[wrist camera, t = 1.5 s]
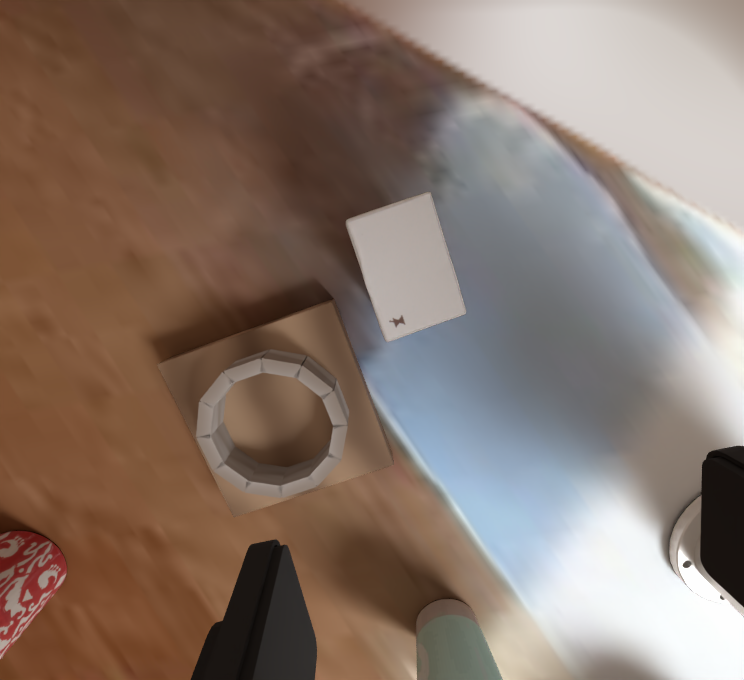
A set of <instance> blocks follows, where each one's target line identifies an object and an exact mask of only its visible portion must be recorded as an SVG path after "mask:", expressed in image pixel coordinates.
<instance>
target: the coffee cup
mask: <svg viewBox="0 0 744 680" xmlns="http://www.w3.org/2000/svg"><path fill="white" fill-rule="evenodd" d="M416 648H417V680H503V679H502V677H501V674H500V672H499V670H498V667H497V665H496V663H495V660H494V658H493V656H492V653H491V651H490V649H489V646H488V644H487V642H486V640H485V637H484V635H483V633H482V630H481V628H480V626H479V623H478V621H477V619H476V617H475V614H474V612H473V611H472V609H471V608H470V607H469V606H468V605H466V604H465V603H463V602H461V601H458V600H454V599H442V600H437V601H435V602H432V603H430V604H429V605H427V606H426V607H425V608H424V609H423V610H422V611H421V612H420V614H419V615H418V618H417V621H416Z"/></svg>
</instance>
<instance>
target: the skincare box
mask: <svg viewBox="0 0 744 680" xmlns="http://www.w3.org/2000/svg"><path fill="white" fill-rule="evenodd" d="M346 227H347V230H348V233H349V236H350V239H351V242H352V245H353V248H354V251H355V253H356V256H357V259H358V262H359V265H360V268H361V271H362V275H363V278H364V282H365V285H366V288H367V290H368V293H369V296H370V299H371V302H372V305H373V308H374V311H375V314H376V317H377V320H378V322H379V325H380V328H381V331H382V334H383V336H384V339H385V341H386V342H390V341H393V340H396V339H398V338H401V337H404V336H406V335H409V334H412V333H415V332H417V331H420V330H423V329H426V328H428V327H431V326H434V325H437V324H440V323H442V322H445V321H448V320H451V319H454V318H456V317H459V316H462V315H464V314H466V309H465V305H464V302H463V298H462V295H461V291H460V287H459V283H458V280H457V277H456V273H455V270H454V267H453V264H452V261H451V258H450V255H449V251H448V248H447V245H446V242H445V239H444V235H443V232H442V229H441V225H440V222H439V219H438V215H437V212H436V209H435V206H434V202H433V199H432V195H431V193H430V192H426V193H423V194H420V195H417V196H414V197H411V198H408V199H405V200H402V201H399V202H396V203H393V204H390V205H387V206H384V207H381V208H378V209H375V210H372V211H369V212H367V213H364V214H361V215H358V216H355V217H352V218H350V219H347V220H346Z"/></svg>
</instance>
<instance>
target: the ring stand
mask: <svg viewBox="0 0 744 680" xmlns="http://www.w3.org/2000/svg"><path fill="white" fill-rule="evenodd" d="M157 366H158V368H159V370H160V372H161V374H162V376H163V378H164V380H165V382H166V384H167V386H168V388H169V390H170V392H171V394H172V396H173V398H174V400H175V402H176V404H177V406H178V408H179V410H180V412H181V414H182V416H183V418H184V420H185V422H186V424H187V426H188V428H189V430H190V431H191V433H192V435H193V437H194V439H195V441H196V443H197V445H198V447H199V449H200V451H201V453H202V455H203V457H204V459H205V461H206V463H207V465H208V467H209V469H210V471H211V473H212V475H213V477H214V479H215V481H216V483H217V485H218V487H219V489H220V491H221V493H222V495H223V497H224V499H225V501H226V503H227V505H228V507H229V509H230V511H231V513H232V515H233V517H237V516H240V515H243V514H246V513H249V512H252V511H255V510H258V509H261V508H264V507H267V506H270V505H273V504H276V503H279V502H282V501H285V500H288V499H291V498H295V497H298V496H301V495H304V494H307V493H310V492H313V491H316V490H319V489H322V488H325V487H328V486H331V485H334V484H337V483H340V482H343V481H346V480H349V479H352V478H355V477H358V476H361V475H365V474H368V473H371V472H374V471H377V470H380V469H383V468H386V467H389V466H392V465H394V462H393V455H392V451H391V448H390V445H389V443H388V440H387V437H386V435H385V432H384V429H383V427H382V424H381V422H380V419H379V416H378V414H377V411H376V408H375V406H374V403H373V400H372V398H371V395H370V392H369V390H368V387H367V385H366V382H365V379H364V377H363V374H362V371H361V369H360V366H359V363H358V361H357V358H356V356H355V353H354V350H353V348H352V345H351V342H350V340H349V337H348V334H347V332H346V329H345V326H344V324H343V321H342V319H341V316H340V313H339V311H338V308H337V305H336V303H335V300H334V299H331V300H329V301H326V302H323V303H320V304H318V305H315V306H312V307H309V308H306V309H304V310H301V311H298V312H295V313H293V314H290V315H287V316H284V317H281V318H279V319H276V320H273V321H270V322H267V323H265V324H262V325H259V326H256V327H254V328H251V329H248V330H245V331H242V332H240V333H237V334H234V335H231V336H229V337H226V338H223V339H220V340H217V341H215V342H212V343H209V344H206V345H203V346H201V347H198V348H195V349H192V350H190V351H187V352H184V353H181V354H178V355H176V356H173V357H170V358H168V359H166V360H164V361H163V362H161V363H159V364H157Z"/></svg>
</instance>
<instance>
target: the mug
mask: <svg viewBox="0 0 744 680" xmlns="http://www.w3.org/2000/svg"><path fill="white" fill-rule="evenodd" d="M66 574H67V565H66V561H65V558H64V556H63V554H62V552H61V551H60V550H59V548H58V547H57V546H56V545H55V544H54V543H52V542H51V541H50V540H49V539H47V538H45V537H43V536H41V535H39V534H36V533H33V532H28V531H10V532H6V533H3V534H0V659H1V658H2V657H3V656H4V655H5V653H6V652H7V651H8V650H9V649H10V647H11V646H12V645H13V644H14V643H15V641H16V640H17V639H18V638H19V637H20V635H21V634H22V633H23V632H24V630H25V629H26V628H27V627H28V626H29V624H30V623H31V622H32V621H33V619H34V618H35V617H36V616H37V614H38V613H39V612H40V611H41V609H42V608H43V607H44V606H45V605H46V604H47V603H48V601H49V600H50V599H51V598H52V596H53V595H54V594H55V593H56V592H57V590H58V589H59V588H60V586H61V585H62V583H63V582H64V580H65V577H66Z"/></svg>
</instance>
